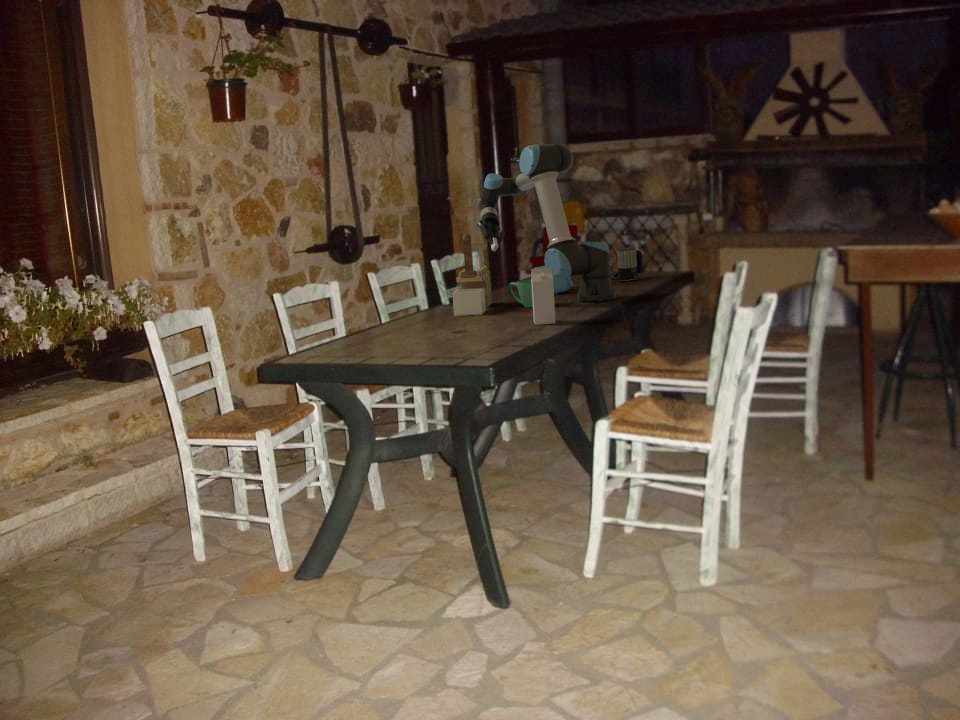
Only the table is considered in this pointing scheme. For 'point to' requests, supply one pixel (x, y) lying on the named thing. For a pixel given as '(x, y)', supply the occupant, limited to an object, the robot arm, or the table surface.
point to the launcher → (478, 283)
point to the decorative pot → (560, 283)
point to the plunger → (468, 257)
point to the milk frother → (628, 263)
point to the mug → (522, 292)
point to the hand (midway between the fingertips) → (495, 248)
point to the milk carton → (543, 296)
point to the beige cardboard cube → (469, 302)
